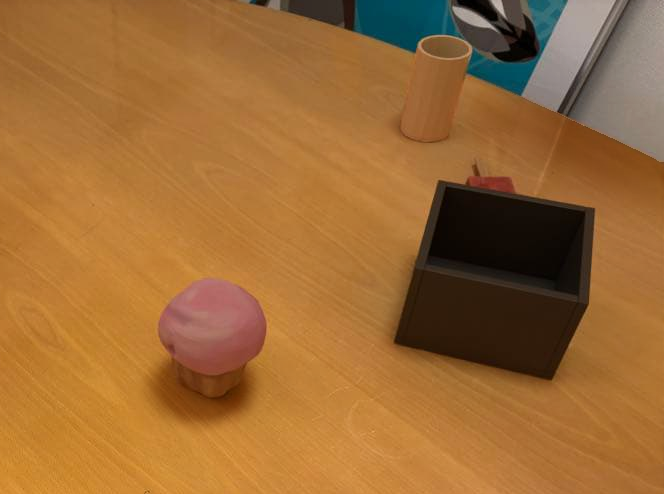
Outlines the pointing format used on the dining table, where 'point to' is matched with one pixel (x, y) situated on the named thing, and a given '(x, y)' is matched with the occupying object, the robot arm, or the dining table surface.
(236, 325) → the cupcake
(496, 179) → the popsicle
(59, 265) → the dining table surface
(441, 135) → the cardboard tube
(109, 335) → the dining table surface
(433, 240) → the bin
